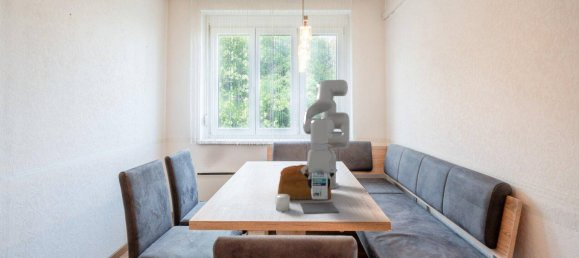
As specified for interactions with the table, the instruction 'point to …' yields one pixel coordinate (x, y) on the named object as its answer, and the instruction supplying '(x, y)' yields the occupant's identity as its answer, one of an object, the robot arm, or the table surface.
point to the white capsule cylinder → (282, 202)
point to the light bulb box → (319, 186)
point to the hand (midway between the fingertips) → (318, 187)
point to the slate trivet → (319, 207)
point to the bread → (296, 183)
